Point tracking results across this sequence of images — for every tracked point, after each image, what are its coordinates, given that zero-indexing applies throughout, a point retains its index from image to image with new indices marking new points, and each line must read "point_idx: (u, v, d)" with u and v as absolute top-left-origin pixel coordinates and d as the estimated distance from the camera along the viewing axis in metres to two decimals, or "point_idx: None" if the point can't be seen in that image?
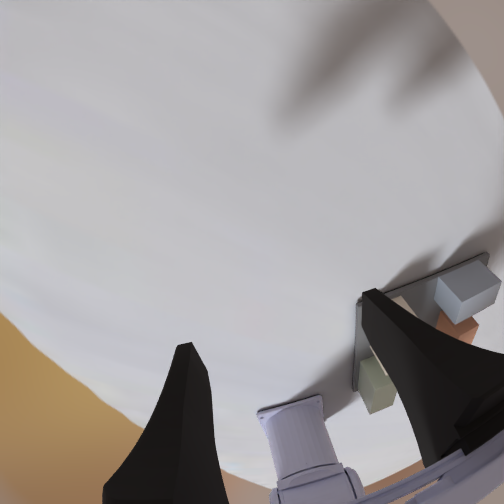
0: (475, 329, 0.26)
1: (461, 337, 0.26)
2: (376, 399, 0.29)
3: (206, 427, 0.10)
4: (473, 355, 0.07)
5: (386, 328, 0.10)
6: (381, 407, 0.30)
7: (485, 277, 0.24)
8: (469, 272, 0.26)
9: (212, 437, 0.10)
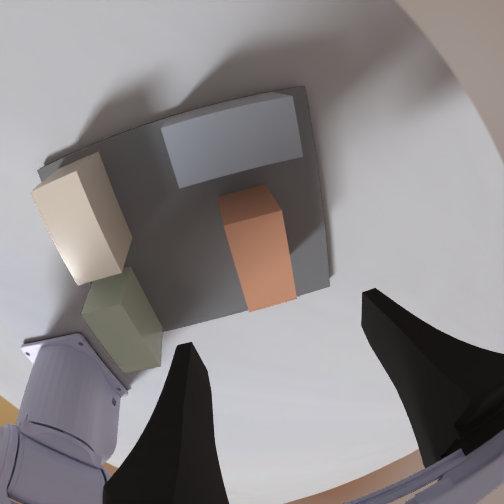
0: (277, 222, 0.16)
1: (236, 233, 0.16)
2: (106, 341, 0.18)
3: (206, 427, 0.10)
4: (473, 355, 0.07)
5: (386, 328, 0.10)
6: (137, 364, 0.20)
7: (258, 99, 0.14)
8: (231, 102, 0.15)
9: (212, 437, 0.10)
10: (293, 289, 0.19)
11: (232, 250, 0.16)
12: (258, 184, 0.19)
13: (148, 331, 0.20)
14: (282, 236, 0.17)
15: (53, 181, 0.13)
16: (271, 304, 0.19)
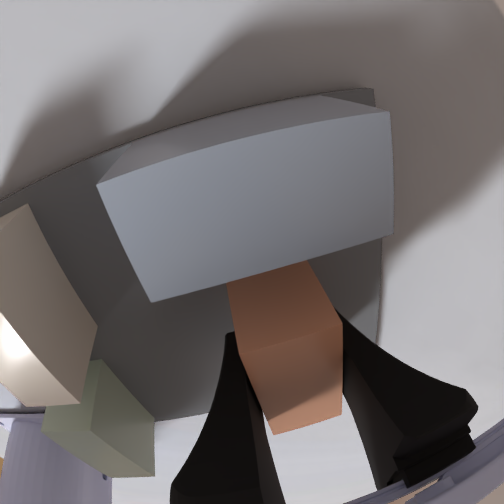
0: (332, 340, 0.09)
1: (261, 362, 0.09)
2: (80, 455, 0.11)
3: (260, 415, 0.10)
4: (419, 385, 0.07)
5: None
6: (125, 473, 0.13)
7: (308, 111, 0.07)
8: (250, 113, 0.08)
9: (263, 426, 0.10)
10: (339, 407, 0.11)
11: (253, 382, 0.09)
12: None
13: (135, 439, 0.13)
14: (336, 356, 0.09)
15: None
16: (305, 425, 0.12)
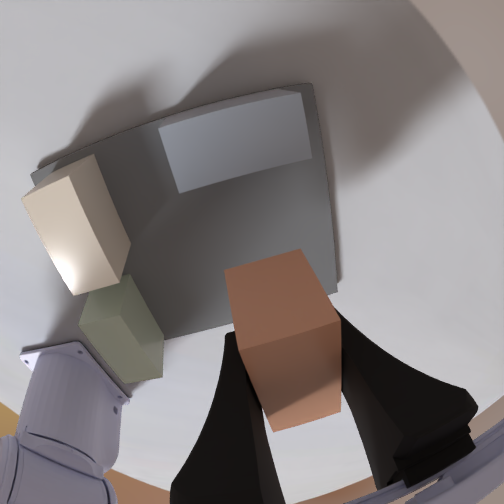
0: (331, 336, 0.09)
1: (260, 358, 0.09)
2: (104, 352, 0.17)
3: (260, 415, 0.10)
4: (419, 385, 0.07)
5: None
6: (138, 375, 0.19)
7: (263, 96, 0.13)
8: (234, 100, 0.14)
9: (263, 426, 0.10)
10: (338, 404, 0.11)
11: (252, 378, 0.09)
12: (263, 187, 0.18)
13: (149, 341, 0.19)
14: (335, 353, 0.09)
15: (44, 187, 0.12)
16: (305, 422, 0.12)
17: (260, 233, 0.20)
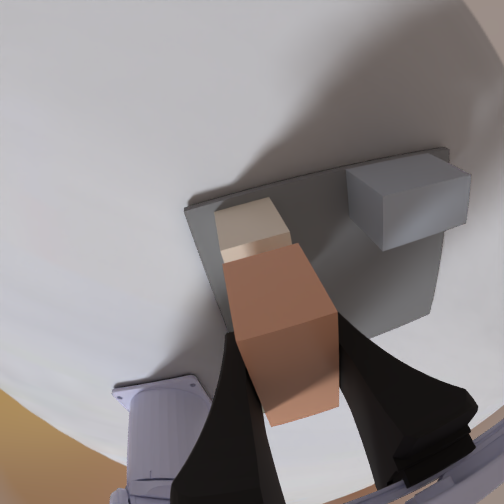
0: (328, 328, 0.09)
1: (257, 350, 0.09)
2: None
3: (260, 415, 0.10)
4: (419, 385, 0.07)
5: None
6: None
7: (438, 169, 0.14)
8: (407, 164, 0.16)
9: (264, 426, 0.10)
10: (336, 399, 0.12)
11: (250, 370, 0.09)
12: None
13: None
14: (332, 345, 0.10)
15: (256, 240, 0.13)
16: (303, 416, 0.12)
17: (392, 271, 0.21)
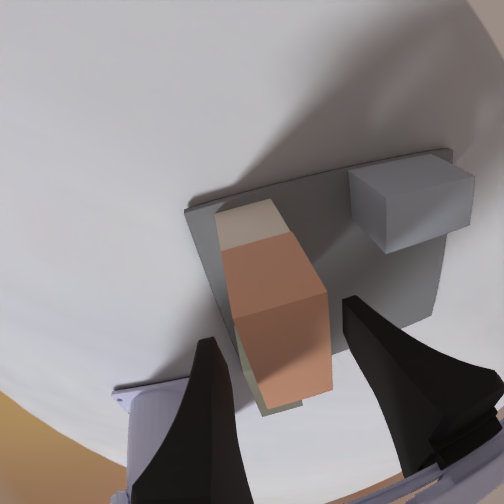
0: (319, 308, 0.10)
1: (252, 327, 0.10)
2: (259, 392, 0.19)
3: (230, 422, 0.10)
4: (451, 368, 0.07)
5: (364, 336, 0.10)
6: (280, 407, 0.20)
7: (442, 171, 0.14)
8: (411, 165, 0.15)
9: (235, 433, 0.10)
10: (329, 381, 0.12)
11: (246, 349, 0.10)
12: None
13: None
14: (323, 325, 0.10)
15: None
16: (298, 399, 0.13)
17: (395, 273, 0.21)
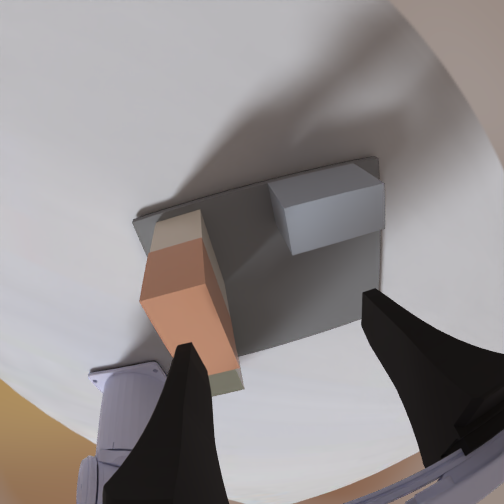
0: (202, 296, 0.13)
1: (155, 308, 0.13)
2: None
3: (206, 427, 0.10)
4: (473, 355, 0.07)
5: (386, 328, 0.10)
6: (224, 389, 0.23)
7: (353, 179, 0.18)
8: (326, 175, 0.19)
9: (212, 437, 0.10)
10: (234, 360, 0.16)
11: (154, 325, 0.14)
12: None
13: None
14: (210, 310, 0.14)
15: None
16: (211, 373, 0.16)
17: (328, 272, 0.24)
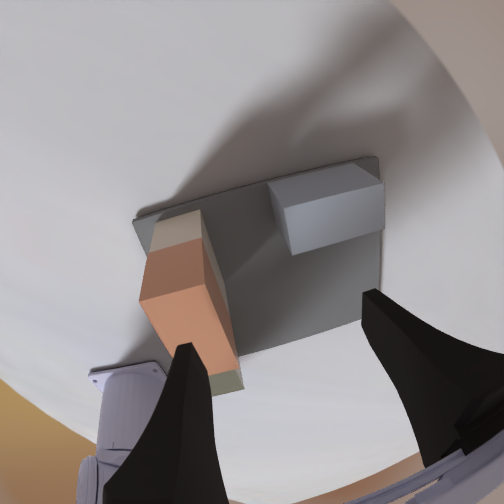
0: (202, 296, 0.13)
1: (154, 308, 0.13)
2: None
3: (206, 427, 0.10)
4: (473, 355, 0.07)
5: (386, 328, 0.10)
6: (224, 389, 0.23)
7: (353, 179, 0.17)
8: (326, 175, 0.19)
9: (212, 437, 0.10)
10: (233, 360, 0.16)
11: (154, 325, 0.14)
12: None
13: None
14: (210, 310, 0.14)
15: None
16: (210, 373, 0.16)
17: (328, 272, 0.24)
